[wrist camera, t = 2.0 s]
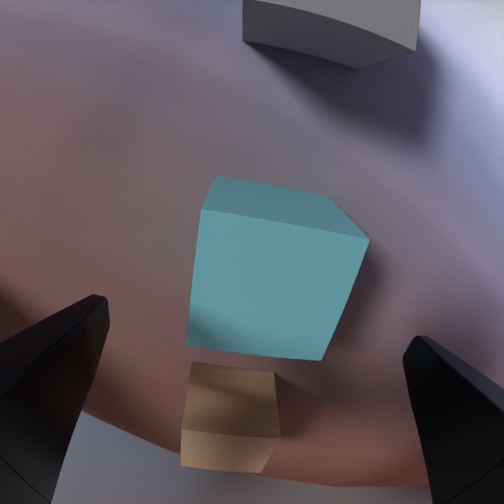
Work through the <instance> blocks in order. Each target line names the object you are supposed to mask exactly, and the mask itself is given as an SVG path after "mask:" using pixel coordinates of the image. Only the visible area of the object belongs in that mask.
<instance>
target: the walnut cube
mask: <svg viewBox="0 0 504 504" xmlns="http://www.w3.org/2000/svg"><path fill="white" fill-rule="evenodd" d="M280 439H281V433H280V424H279V415H278V405H277V396H276V387H275V378H274V372H272V371H261V370H251V369H242V368H234V367H226V366H218V365H211V364H204V363H198V362H192V366H191V371H190V378H189V384H188V390H187V396H186V403H185V409H184V416H183V423H182V431H181V466H187V467H194V468H202V469H210V470H220V471H232V472H249V473H261V471H262V470H263V468H264V466H265V465H266V463H267V461H268V460H269V458H270V456H271V455H272V453H273V451H274V450H275V448H276V446H277V444H278V443H279V441H280Z"/></svg>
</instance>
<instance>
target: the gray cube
mask: <svg viewBox="0 0 504 504" xmlns="http://www.w3.org/2000/svg"><path fill="white" fill-rule="evenodd" d="M420 7H421V0H243V41H247V42H253V43H259V44H264V45H269V46H274V47H279V48H284V49H288V50H292V51H297V52H301V53H305V54H308V55H312V56H316V57H320V58H323V59H327V60H330V61H333V62H337V63H340V64H343V65H346V66H349V67H352V68H355V69H361V68H363V67H366V66H369V65H372V64H375V63H379V62H382V61H385V60H388V59H391V58H395V57H398V56H401V55H405V54H408V53H412V52H416V45H417V37H418V28H419V18H420Z"/></svg>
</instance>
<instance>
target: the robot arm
mask: <svg viewBox="0 0 504 504" xmlns="http://www.w3.org/2000/svg"><path fill="white" fill-rule="evenodd" d="M109 326H110V319H109V308H108V300H107V298H106V297H104V296H99V295H95V294H92V295H90V296H88V297H86V298H84V299H82V300H80V301H78V302H76V303H74V304H72V305H70V306H68V307H66V308H64V309H63V310H61V311H59V312H57V313H55V314H53V315H51V316H49V317H47V318H45V319H43V320H42V321H40V322H38V323H36V324H34V325H32V326H30V327H28V328H26V329H25V330H23V331H21V332H19V333H17V334H15V335H13V336H12V337H10V338H8V339H6V340H4V341H2V342H1V343H0V504H51V501H52V498H53V495H54V491H55V488H56V484H57V481H58V477H59V474H60V471H61V467H62V464H63V461H64V458H65V455H66V452H67V449H68V446H69V443H70V440H71V437H72V434H73V431H74V429H75V426H76V423H77V421H78V418H79V415H80V412H81V410H82V407H83V405H84V402H85V399H86V397H87V394H88V392H89V389H90V387H91V384H92V382H93V379H94V377H95V374H96V371H97V367H98V364H99V360H100V357H101V353H102V350H103V347H104V344H105V340H106V337H107V334H108V331H109ZM403 366H404V371H405V376H406V381H407V387H408V392H409V397H410V402H411V406H412V410H413V414H414V418H415V421H416V425H417V429H418V433H419V437H420V442H421V446H422V450H423V455H424V459H425V464H426V469H427V474H428V479H429V485H430V490H431V496H432V502H433V504H504V389H503V388H501V387H500V386H499V385H497V384H496V383H494V382H493V381H492V380H490V379H489V378H487V377H486V376H484V375H483V374H482V373H480V372H479V371H477V370H476V369H474V368H473V367H472V366H470V365H469V364H467V363H466V362H464V361H463V360H461V359H460V358H459V357H457V356H456V355H454V354H453V353H451V352H450V351H448V350H447V349H445V348H444V347H442V346H441V345H439V344H438V343H436V342H435V341H434V340H432V339H431V338H429V337H427V336H415V337H414V338H413V340H412V341H411V343H410V345H409V347H408V348H407V350H406V352H405V353H404V355H403Z"/></svg>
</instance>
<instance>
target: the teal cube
mask: <svg viewBox="0 0 504 504" xmlns="http://www.w3.org/2000/svg"><path fill="white" fill-rule="evenodd" d="M369 240H370V239H369V238H368V237H367V236H366V235H365V234H364V233H363V232H362V231H361V230H360V229H359V228H358V226H357V225H356V224H355V223H354V222H353V221H352V220H351V219H350V218H349V217H348V216H347V215H346V214H345V213H344V212H343V211H342V210H341V209H340V208H339V207H338V206H337V205H336V204H335V203H334V202H333V201H332V200H331V199H330V198H329V197H328V196H323V195H319V194H314V193H310V192H305V191H300V190H295V189H290V188H285V187H280V186H275V185H270V184H264V183H259V182H254V181H248V180H242V179H236V178H230V177H224V176H218V175H216V177H215V179H214V182H213V184H212V186H211V188H210V191H209V193H208V195H207V197H206V200H205V202H204V204H203V207H202V209H201V216H200V223H199V231H198V239H197V246H196V255H195V263H194V272H193V281H192V290H191V300H190V310H189V321H188V332H187V344H186V345H187V346H193V347H199V348H205V349H212V350H219V351H226V352H234V353H242V354H250V355H259V356H269V357H279V358H291V359H304V360H319V361H321V360H322V358H323V355H324V353H325V351H326V349H327V347H328V344H329V342H330V340H331V338H332V335H333V333H334V331H335V329H336V326H337V324H338V322H339V319H340V317H341V314H342V312H343V310H344V307H345V305H346V302H347V300H348V297H349V295H350V292H351V290H352V287H353V284H354V282H355V279H356V277H357V274H358V271H359V268H360V266H361V263H362V260H363V257H364V255H365V252H366V249H367V246H368V243H369Z"/></svg>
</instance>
